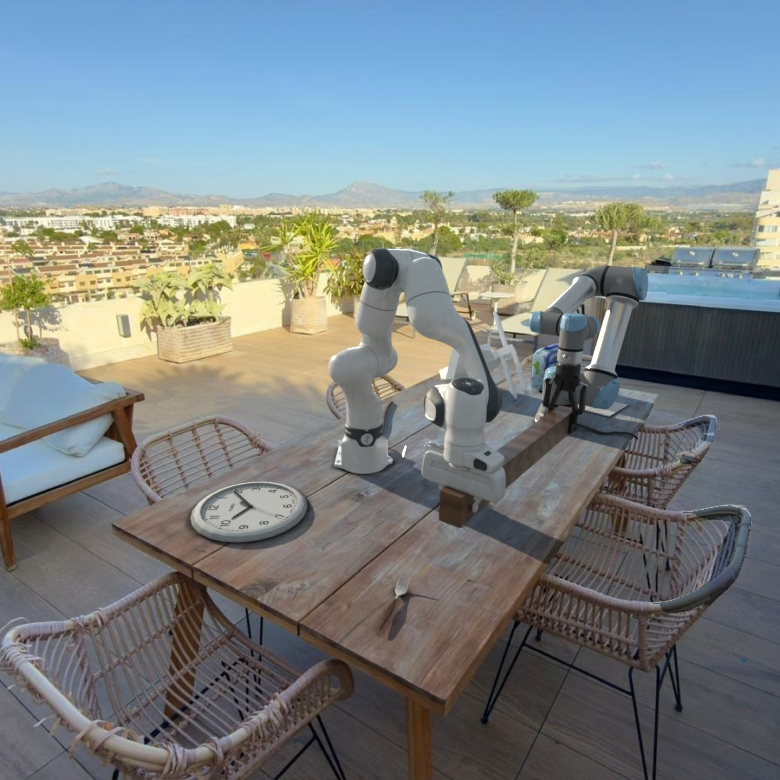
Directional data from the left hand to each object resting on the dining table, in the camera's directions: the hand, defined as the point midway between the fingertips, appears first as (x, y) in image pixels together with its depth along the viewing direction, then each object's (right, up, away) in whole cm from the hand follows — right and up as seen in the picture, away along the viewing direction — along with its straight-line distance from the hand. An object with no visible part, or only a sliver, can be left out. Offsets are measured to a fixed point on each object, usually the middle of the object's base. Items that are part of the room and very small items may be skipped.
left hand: (459, 505), depth 121 cm
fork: (-15, -17, -15) cm, 27 cm away
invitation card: (+75, +19, +106) cm, 131 cm away
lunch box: (+61, +28, +131) cm, 147 cm away
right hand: (+41, +13, +53) cm, 68 cm away
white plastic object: (+26, +26, +122) cm, 128 cm away
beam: (+20, +5, +27) cm, 34 cm away
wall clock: (-53, -5, +19) cm, 57 cm away
